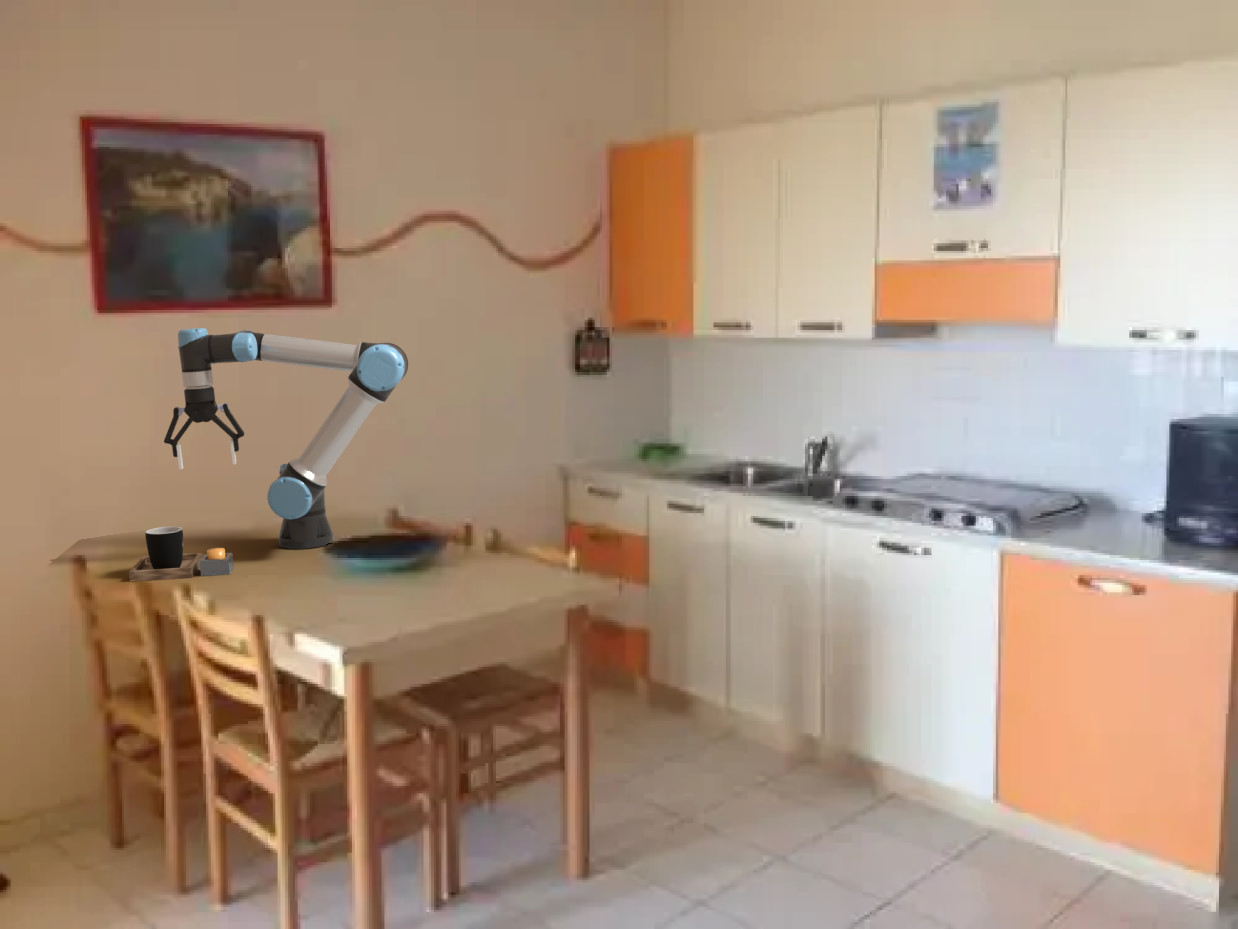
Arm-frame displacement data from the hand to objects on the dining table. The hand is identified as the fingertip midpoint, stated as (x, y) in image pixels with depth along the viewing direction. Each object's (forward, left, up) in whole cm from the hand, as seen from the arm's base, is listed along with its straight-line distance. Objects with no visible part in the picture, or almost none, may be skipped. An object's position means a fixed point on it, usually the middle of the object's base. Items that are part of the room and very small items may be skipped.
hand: (208, 466), depth 322 cm
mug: (+11, +13, -24) cm, 29 cm away
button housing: (-3, +17, -25) cm, 30 cm away
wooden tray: (+10, +13, -25) cm, 30 cm away
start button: (-3, +17, -24) cm, 30 cm away
